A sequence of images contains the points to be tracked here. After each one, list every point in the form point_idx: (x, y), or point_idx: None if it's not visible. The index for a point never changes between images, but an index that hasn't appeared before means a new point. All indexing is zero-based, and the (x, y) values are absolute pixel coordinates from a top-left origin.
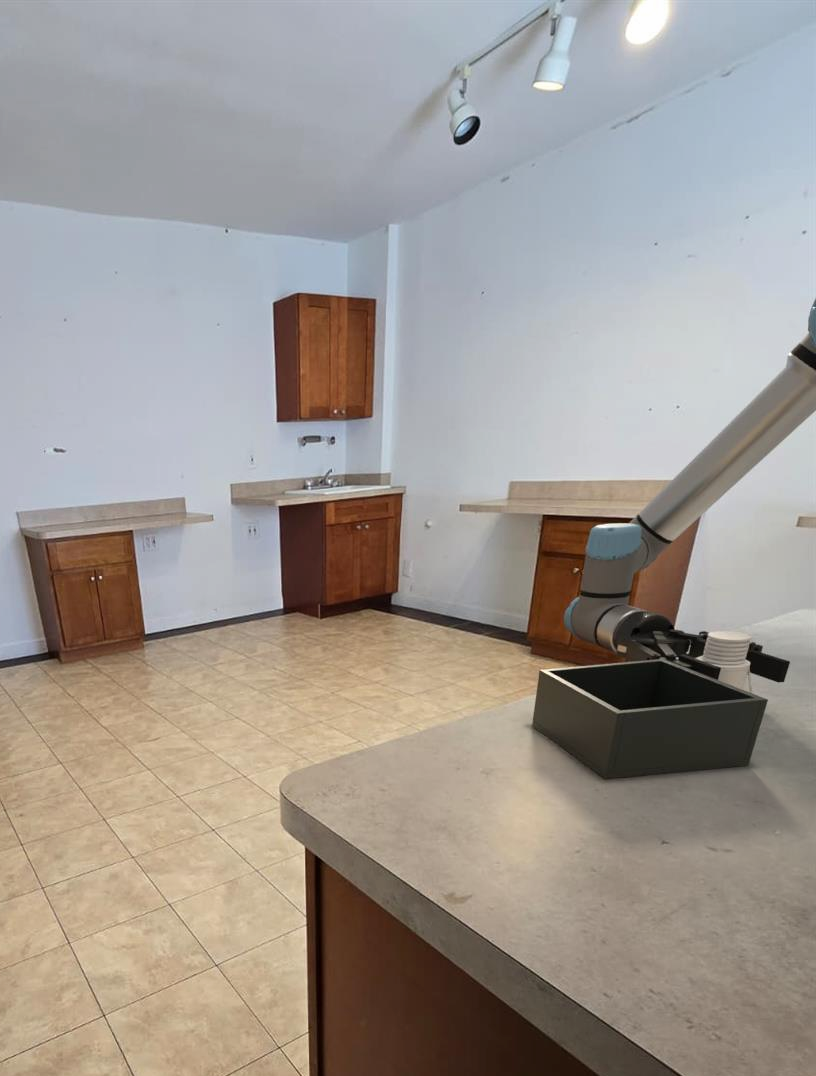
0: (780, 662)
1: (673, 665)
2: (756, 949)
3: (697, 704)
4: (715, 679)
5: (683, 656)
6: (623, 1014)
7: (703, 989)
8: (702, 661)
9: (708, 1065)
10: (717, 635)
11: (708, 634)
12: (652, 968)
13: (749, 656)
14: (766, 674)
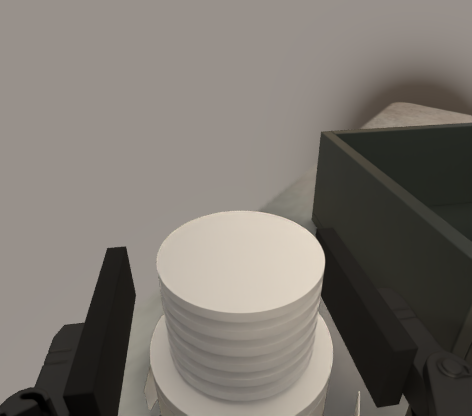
0: (124, 258)
1: (449, 224)
2: (387, 122)
3: (416, 127)
4: (367, 167)
5: (402, 325)
6: (443, 111)
7: (413, 115)
8: (347, 271)
9: (415, 106)
10: (289, 255)
11: (321, 272)
12: (432, 118)
13: (106, 368)
14: (127, 322)
